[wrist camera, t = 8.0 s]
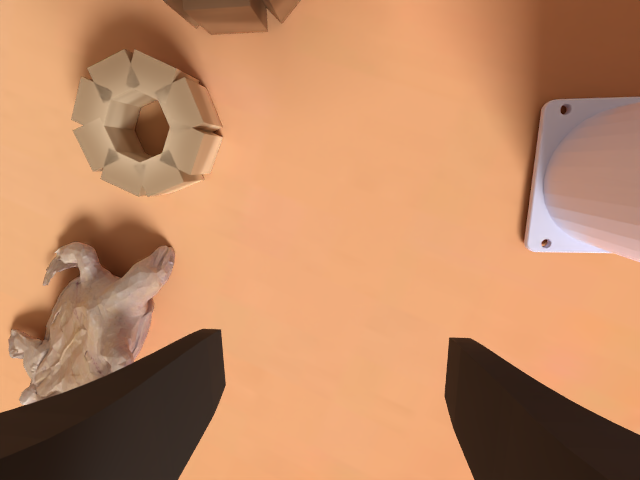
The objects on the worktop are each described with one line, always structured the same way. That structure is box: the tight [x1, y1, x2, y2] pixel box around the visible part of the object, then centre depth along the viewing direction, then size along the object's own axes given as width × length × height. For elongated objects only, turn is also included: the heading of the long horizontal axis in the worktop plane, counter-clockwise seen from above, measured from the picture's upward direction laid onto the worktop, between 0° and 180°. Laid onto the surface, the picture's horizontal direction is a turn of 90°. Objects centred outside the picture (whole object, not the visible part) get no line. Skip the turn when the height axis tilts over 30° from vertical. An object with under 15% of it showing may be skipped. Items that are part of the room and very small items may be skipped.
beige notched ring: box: [71, 49, 223, 197], centre depth 19 cm, size 7×7×2 cm
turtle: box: [9, 242, 175, 405], centre depth 20 cm, size 16×10×10 cm, turn 158°
